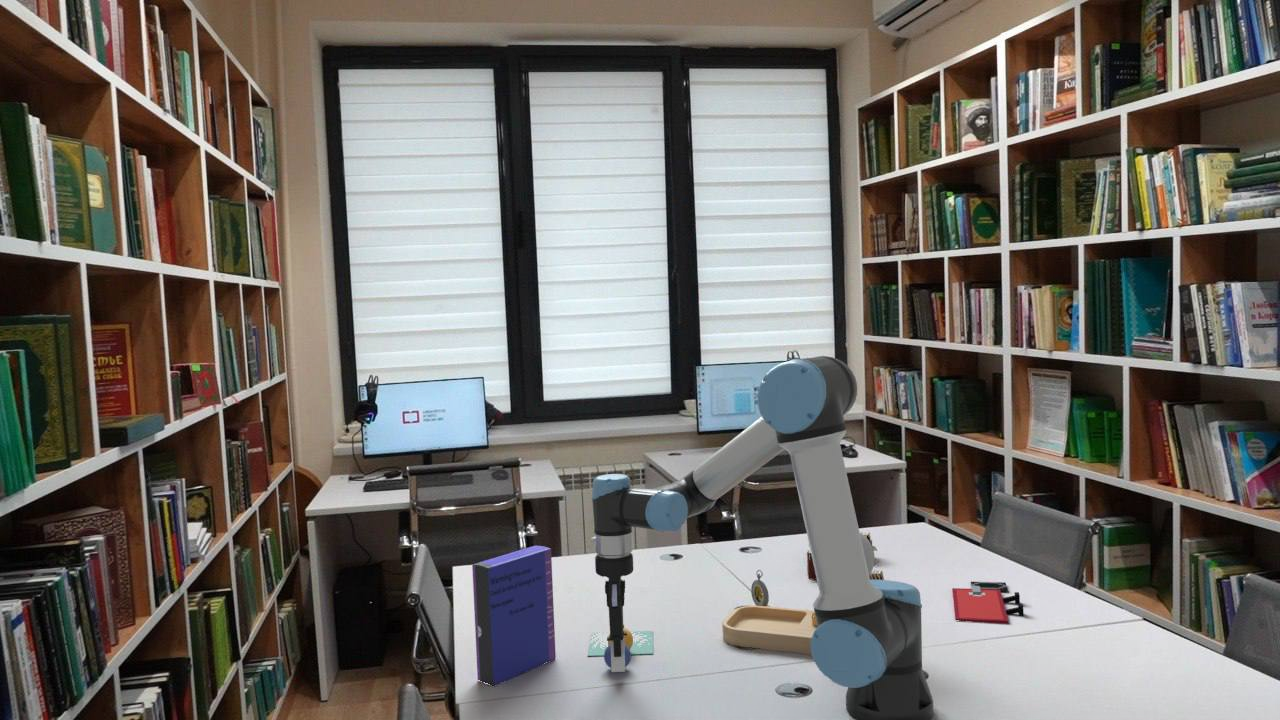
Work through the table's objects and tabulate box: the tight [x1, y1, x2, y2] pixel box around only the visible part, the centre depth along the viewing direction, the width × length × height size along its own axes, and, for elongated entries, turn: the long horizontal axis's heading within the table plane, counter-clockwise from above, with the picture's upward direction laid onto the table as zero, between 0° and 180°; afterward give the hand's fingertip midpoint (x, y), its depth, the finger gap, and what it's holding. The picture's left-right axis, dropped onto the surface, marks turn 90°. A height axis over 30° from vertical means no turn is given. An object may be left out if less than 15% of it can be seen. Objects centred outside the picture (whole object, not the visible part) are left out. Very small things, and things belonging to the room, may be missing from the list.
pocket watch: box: [734, 569, 770, 609], centre depth 220 cm, size 8×8×10 cm
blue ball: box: [603, 644, 632, 669], centre depth 189 cm, size 6×6×6 cm
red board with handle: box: [951, 581, 1025, 625], centre depth 222 cm, size 30×3×15 cm
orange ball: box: [608, 627, 633, 650], centre depth 198 cm, size 6×6×6 cm
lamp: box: [721, 532, 876, 655], centre depth 202 cm, size 33×17×25 cm, turn 67°
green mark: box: [587, 630, 654, 657], centre depth 203 cm, size 14×14×1 cm
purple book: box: [471, 545, 557, 687], centre depth 190 cm, size 17×5×24 cm, turn 141°
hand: (618, 670), depth 183 cm, fingers closed
